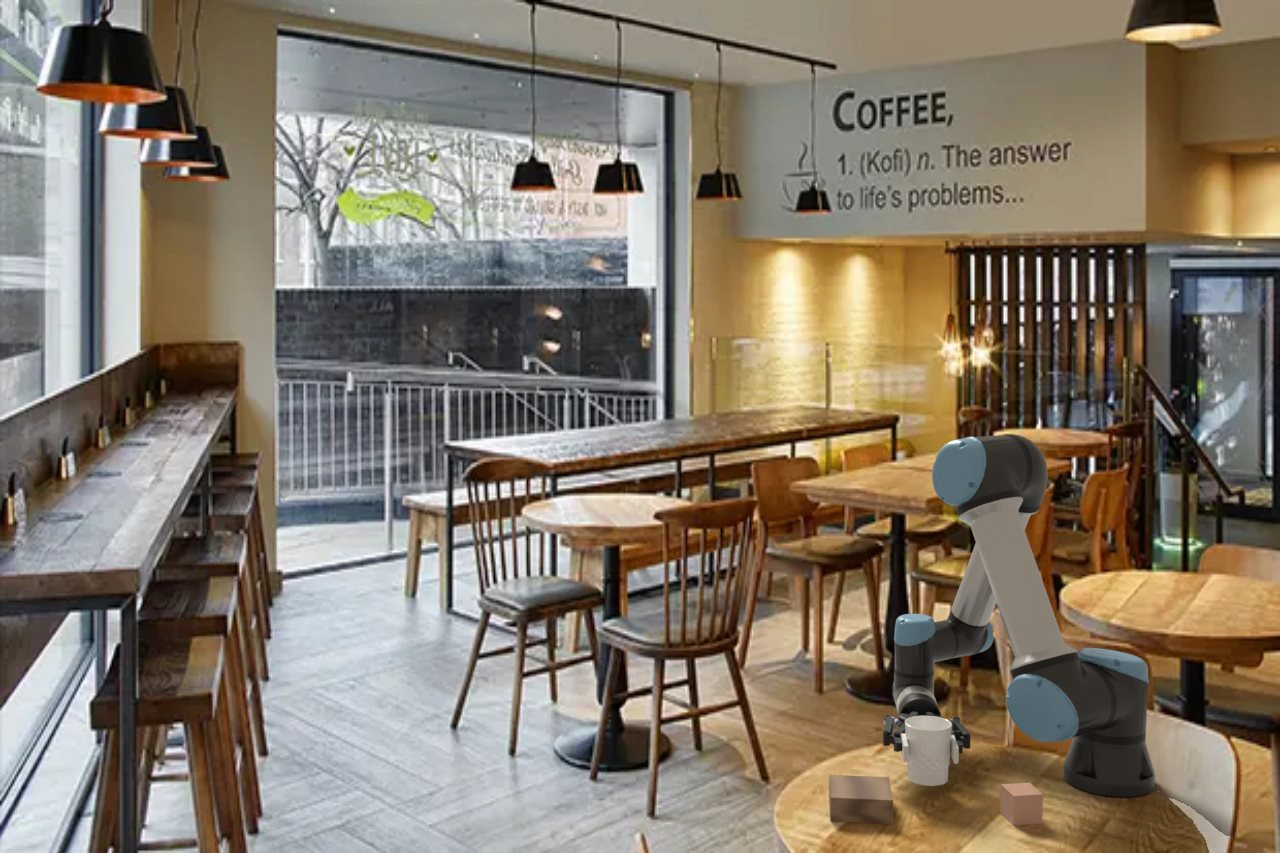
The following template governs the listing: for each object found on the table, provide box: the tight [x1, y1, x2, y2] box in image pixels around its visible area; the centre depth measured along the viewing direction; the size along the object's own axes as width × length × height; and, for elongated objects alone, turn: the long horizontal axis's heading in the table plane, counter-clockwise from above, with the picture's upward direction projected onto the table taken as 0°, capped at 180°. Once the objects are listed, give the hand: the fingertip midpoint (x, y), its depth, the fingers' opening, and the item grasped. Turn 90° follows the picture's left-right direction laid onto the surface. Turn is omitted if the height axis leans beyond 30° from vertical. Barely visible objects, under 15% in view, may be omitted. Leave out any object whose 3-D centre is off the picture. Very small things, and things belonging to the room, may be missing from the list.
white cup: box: [905, 716, 952, 787], centre depth 219 cm, size 8×8×10 cm
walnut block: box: [828, 774, 894, 825], centre depth 212 cm, size 10×10×4 cm
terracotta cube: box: [999, 782, 1044, 826], centre depth 208 cm, size 5×5×5 cm
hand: (931, 754), depth 214 cm, fingers closed on white cup, 7 cm apart
